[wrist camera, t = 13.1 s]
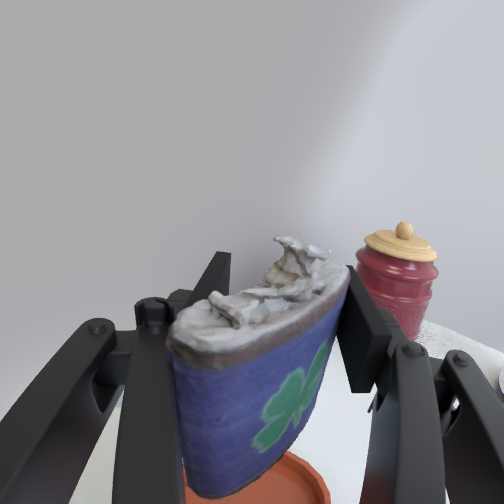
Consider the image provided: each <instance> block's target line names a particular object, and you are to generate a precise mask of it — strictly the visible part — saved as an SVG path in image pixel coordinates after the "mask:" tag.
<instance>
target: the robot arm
mask: <svg viewBox="0 0 504 504" xmlns="http://www.w3.org/2000/svg"><path fill="white" fill-rule="evenodd" d="M230 262H231V253H227V252H218V251H217V252H216V253H215V255H214V257H213V259H212V260H211V262H210V263H209V265H208V267H207V268H206V270H205V272H204V273H203V275H202V277H201V278H200V280H199V282H198V283H197V285H196V287H195V288H194V290H193V291H191V290H184V289H178V290H176V291H174V292H173V293H171V294H170V296H169V297H168V298H167V299H164V298H159V297H151V298H145V299H142V300H140V301H138V302H137V303H136V304H135V306H134V308H135V315H136V325H137V328H136V330H132V331H116V330H115V326H114V323H113V322H112V321H111V320H108V319H105V318H93V319H90V320H88V321H86V322H84V323H83V324H82V325H81V326H80V327H79V328H78V329H77V330H76V331H75V332H74V333H73V335H72V336H71V337H70V338H69V339H68V340H67V341H66V342H65V343H64V345H63V346H62V347H61V348H60V349H59V350H58V352H57V353H56V354H55V355H54V356H53V357H52V358H51V359H50V361H49V362H48V363H47V364H46V365H45V367H44V368H43V369H42V370H41V371H40V372H39V374H38V375H37V376H36V377H35V379H34V380H33V381H32V382H31V383H30V385H29V386H28V387H27V388H26V389H25V391H24V392H23V393H22V394H21V396H20V397H19V398H18V400H17V401H16V402H15V403H14V405H13V406H12V407H11V409H10V410H9V411H8V413H7V414H6V415H5V416H4V418H3V419H2V420H1V422H0V504H69V501H70V499H71V497H72V495H73V492H74V490H75V488H76V486H77V483H78V481H79V479H80V477H81V475H82V473H83V470H84V468H85V466H86V464H87V462H88V460H89V458H90V456H91V453H92V451H93V449H94V447H95V445H96V443H97V441H98V439H99V437H100V435H101V433H102V431H103V429H104V427H105V425H106V423H107V421H108V419H109V417H110V415H111V413H112V411H113V409H114V407H115V405H116V403H117V401H118V399H119V397H120V396H121V394H122V392H123V390H124V395H123V401H122V408H121V414H120V421H119V429H118V437H117V445H116V454H115V464H114V475H113V489H112V504H186V496H185V486H184V476H183V464H182V450H181V434H180V420H179V412H178V403H177V395H176V385H175V375H174V368H173V366H172V365H171V363H169V362H168V361H167V352H166V348H165V341H166V339H167V335H168V328H169V327H170V325H171V324H172V323H173V322H174V321H175V317H176V314H178V313H179V312H180V311H181V310H183V309H184V308H187V307H190V306H193V304H194V303H195V302H197V301H200V300H202V299H208V296H209V295H210V294H211V293H212V292H213V291H218V292H219V293H221V294H222V295H224V296H227V295H229V280H230ZM345 266H347V267H348V268H349V270H350V277H351V279H350V282H349V285H348V289H347V293H346V299H345V303H344V306H343V309H342V313H341V316H340V320H339V323H338V329H337V333H336V336H337V339H338V343H339V346H340V350H341V354H342V357H343V361H344V365H345V369H346V373H347V376H348V380H349V384H350V388H351V392H352V393H370V392H371V389H372V387H373V385H374V383H375V384H376V386H377V389H378V390H377V392H376V394H375V396H374V399H373V401H372V403H371V405H370V407H369V409H368V413H370V412H371V410H372V409H373V413H372V423H371V433H370V441H369V449H368V456H367V463H366V469H365V476H364V481H363V487H362V492H361V497H360V502H359V504H446V497H445V486H446V490H447V494H448V497H449V501H450V504H504V406H503V404H502V402H501V401H500V399H499V397H498V396H497V394H496V393H495V391H494V389H493V388H492V386H491V385H490V383H489V382H488V380H487V379H486V377H485V376H484V374H483V373H482V371H481V370H480V368H479V367H478V365H477V364H476V362H475V361H474V359H473V358H472V357H471V356H470V355H468V354H467V353H466V352H464V351H461V350H450V351H449V352H447V354H446V356H445V358H444V360H442V359H437V358H432V357H429V355H428V352H427V350H426V349H425V348H424V347H423V346H422V345H420V344H418V343H417V342H413V341H409V339H408V338H407V336H406V334H405V333H404V331H403V329H402V328H401V327H400V324H399V323H398V322H397V320H396V318H395V316H394V315H393V314H392V313H391V312H389V311H388V310H387V309H381V308H377V306H376V304H375V303H374V301H373V299H372V298H371V296H370V294H369V293H368V291H367V289H366V287H365V286H364V284H363V282H362V281H361V279H360V278H359V276H358V274H357V273H356V271H355V270H354V268H353V266H349V265H345ZM124 388H125V389H124ZM456 399H458V401H459V403H460V404H459V406H458V407H457V409H456V410H455V408H454V406H453V404H454V402H455V400H456Z"/></svg>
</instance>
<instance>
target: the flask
mask: <svg viewBox="0 0 504 504" xmlns="http://www.w3.org/2000/svg"><path fill="white" fill-rule="evenodd" d="M273 240H274V241H277V242H279V243H280V244H281V245H282V246H283V247H284V249H285V251H284V255H283V256H282V258H281V259H280V260H278V261H277V262H275V263H274V265H273V266H272V267H271V268H270V269H269V270H268V272H266V273H265V275H264V279H263V282H264V283H262V284H259V285H257V286H254V287H252V288H250V289H243V290H241V292H238V293H237V294H233V295H227V296H224V295H222V294H221V293H219V292H218V291H213V292H212V293H211V294H210V295H209V296H208V299H202V300H200V301H197V302H195V303H194V304H193V306H190V307H187V308H184V309H183V310H181V311H180V312H179V313H178V314H176V317H175V321H174V322H173V323H172V324H171V325H170V327H169V328H168V335H167V339H166V341H165V348H166V352H167V361H168V362H169V363H171V365H172V366H173V368H174V375H175V385H176V395H177V403H178V412H179V420H180V434H181V450H182V457H183V464H184V469H185V475H186V479H187V483H186V485H185V486H187V487H190V488H191V490H192V491H193V493H195V494H196V495H197V496H198V497H200V498H204V499H207V500H209V501H214V500H221V499H225V498H227V497H228V496H232V495H235V494H237V493H239V492H241V491H242V490H243V489H245V488H247V487H248V486H249V485H251V484H252V483H254V482H255V481H258V480H259V479H260V478H261V476H263V475H264V474H266V473H268V471H269V470H271V469H272V468H273V467H274V465H275V464H276V463H277V462H279V461H280V460H281V458H283V456H284V454H285V452H286V451H287V450H288V449H289V448H290V446H291V445H292V444H293V442H294V441H295V440H296V438H297V437H298V434H299V433H300V432H301V431H302V430H303V428H304V427H305V425H306V423H307V422H308V419H309V417H310V415H311V413H312V411H313V409H314V407H315V403H316V398H317V394H318V391H319V389H320V386H321V383H322V380H323V377H324V372H325V369H326V365H327V362H328V359H329V356H330V353H331V350H332V346H333V343H334V340H335V337H336V333H337V329H338V323H339V320H340V316H341V313H342V309H343V306H344V303H345V299H346V293H347V289H348V285H349V282H350V279H351V277H350V270H349V268H348V267H347V266H345V265H344V264H343V263H341V262H338V261H334V260H331V259H328V258H329V257H330V256H331V250H330V249H329V250H323V249H319V248H317V247H315V246H313V245H310V244H309V245H308V244H305V243H304V242H303V241H300V240H296V238H295V237H292V236H287V237H280V236H276V237H275V238H274V239H273Z"/></svg>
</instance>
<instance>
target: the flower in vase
mask: <svg viewBox="0 0 504 504" xmlns="http://www.w3.org/2000/svg"><path fill="white" fill-rule="evenodd" d="M499 383H500V387H501V390H502V392H503V394H504V367H503V368H502V370H501V371H500V375H499Z"/></svg>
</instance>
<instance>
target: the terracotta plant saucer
mask: <svg viewBox="0 0 504 504" xmlns="http://www.w3.org/2000/svg"><path fill="white" fill-rule="evenodd" d="M183 476H184V486H185V485H186V483H187V479H186V475H185V469H184V464H183ZM185 496H186V504H331V499H330V493H329V491H328V489H327V487H326V485H325V483H324V481H323V479H322V477H321V475H320V474H319V473H318V472H317V471H316V470H315V469H314V468H313V467H312V466H311V465H310V464H309V463H308V462H306V461H305V460H303V459H301V458H299V457H298V456H296V455H294V454H293V453H291V452H289V451H286V452H285V454H284V456H283V458H281V460H280V461H279V462H277V463H276V464H275V465H274V467H273V468H272V469H271V470H269V471H268V473H266V474H264V475H263V476H261V478H260V479H259V480H258V481H255V482H254V483H252V484H251V485H249V486H248V487H247V488H245V489H243V490H242V491H241V492H239V493H237V494H235V495H232V496H228V497H227V498H225V499H221V500H214V501H209V500H207V499H204V498H200V497H198V496H197V495H196V494H195V493H193V491H192V490H191V488H190V487H187V486H185Z"/></svg>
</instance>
